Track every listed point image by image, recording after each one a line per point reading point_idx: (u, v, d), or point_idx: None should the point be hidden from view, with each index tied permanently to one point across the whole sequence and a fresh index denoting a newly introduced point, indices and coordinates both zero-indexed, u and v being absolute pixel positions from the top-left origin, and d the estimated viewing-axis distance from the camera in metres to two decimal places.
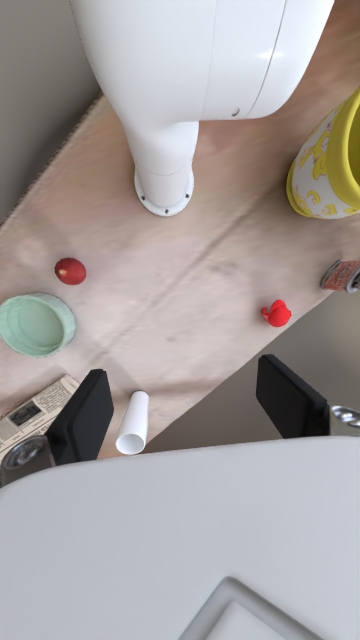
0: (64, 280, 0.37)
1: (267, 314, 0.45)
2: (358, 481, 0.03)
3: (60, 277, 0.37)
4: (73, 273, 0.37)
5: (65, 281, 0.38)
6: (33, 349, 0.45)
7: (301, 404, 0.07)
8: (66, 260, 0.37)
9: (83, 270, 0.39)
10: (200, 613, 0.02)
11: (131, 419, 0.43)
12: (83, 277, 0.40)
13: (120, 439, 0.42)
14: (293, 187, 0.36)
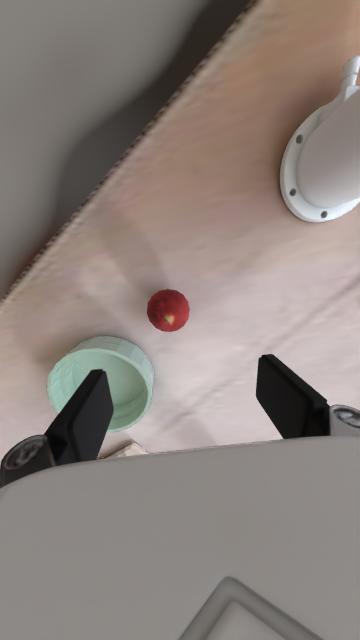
0: (165, 328, 0.23)
1: None
2: (358, 481, 0.03)
3: (161, 324, 0.22)
4: (182, 317, 0.22)
5: (165, 329, 0.23)
6: None
7: (301, 404, 0.07)
8: (171, 296, 0.22)
9: (189, 309, 0.24)
10: (200, 613, 0.02)
11: None
12: None
13: None
14: None
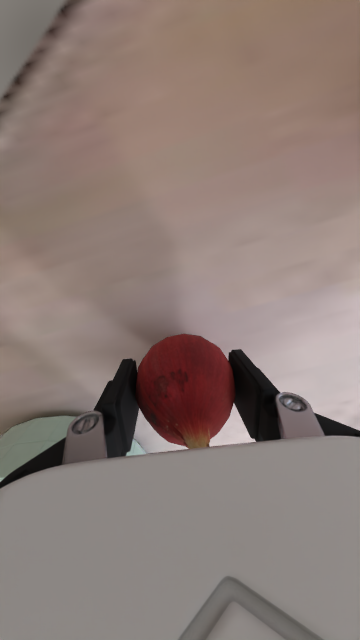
0: None
1: None
2: (358, 481, 0.03)
3: (171, 441, 0.08)
4: (226, 417, 0.09)
5: None
6: None
7: (254, 392, 0.08)
8: (197, 365, 0.08)
9: None
10: (200, 613, 0.02)
11: None
12: None
13: None
14: None
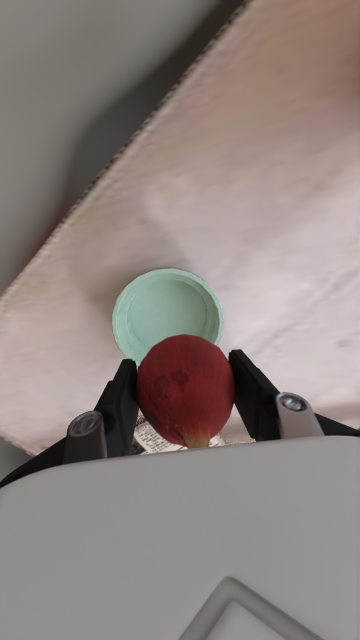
0: None
1: None
2: (358, 481, 0.03)
3: (171, 441, 0.08)
4: (226, 417, 0.09)
5: None
6: None
7: (254, 392, 0.08)
8: (197, 365, 0.08)
9: None
10: (200, 613, 0.02)
11: None
12: None
13: None
14: None
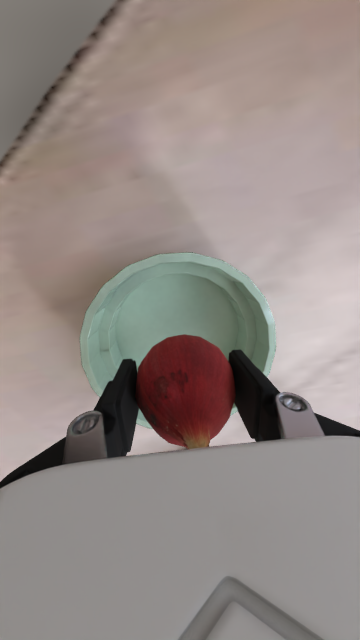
0: None
1: None
2: (358, 481, 0.03)
3: (171, 441, 0.08)
4: (226, 417, 0.09)
5: None
6: None
7: (254, 392, 0.08)
8: (197, 365, 0.08)
9: None
10: (200, 613, 0.02)
11: None
12: None
13: None
14: None
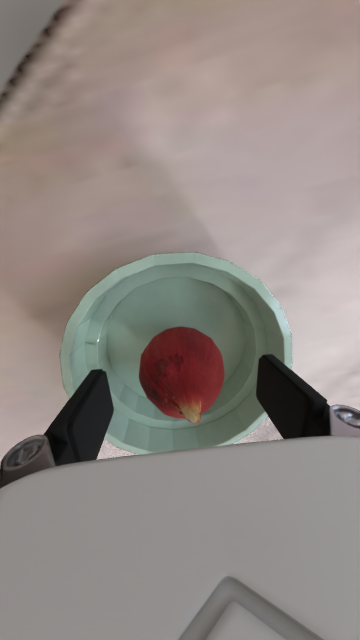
0: (178, 418, 0.10)
1: None
2: (358, 481, 0.03)
3: (169, 413, 0.10)
4: (215, 394, 0.10)
5: None
6: (148, 425, 0.16)
7: (301, 404, 0.07)
8: (191, 350, 0.10)
9: None
10: (200, 613, 0.02)
11: None
12: None
13: None
14: None
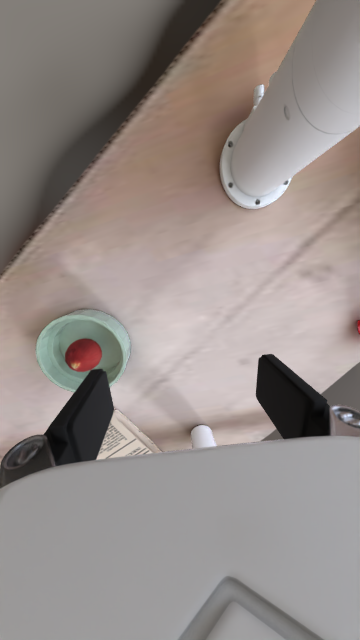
0: (77, 371, 0.30)
1: None
2: (358, 481, 0.03)
3: (72, 368, 0.30)
4: (89, 362, 0.30)
5: (78, 371, 0.30)
6: (78, 382, 0.35)
7: (301, 404, 0.07)
8: (79, 347, 0.30)
9: (99, 353, 0.32)
10: (200, 613, 0.02)
11: None
12: (99, 360, 0.32)
13: None
14: None
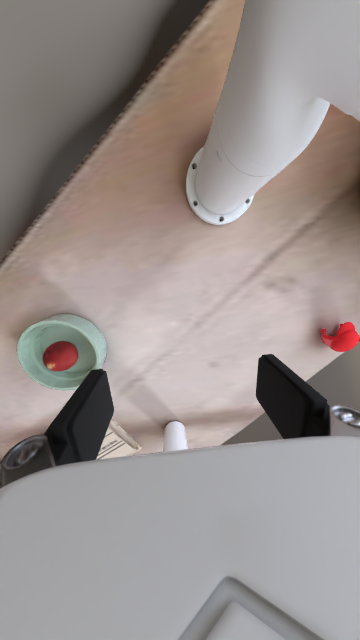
0: (53, 370, 0.33)
1: (331, 338, 0.38)
2: (358, 481, 0.03)
3: (48, 368, 0.33)
4: (64, 362, 0.33)
5: None
6: (58, 379, 0.38)
7: (301, 404, 0.07)
8: (55, 349, 0.33)
9: (75, 355, 0.35)
10: (200, 613, 0.02)
11: None
12: (75, 361, 0.36)
13: None
14: None
